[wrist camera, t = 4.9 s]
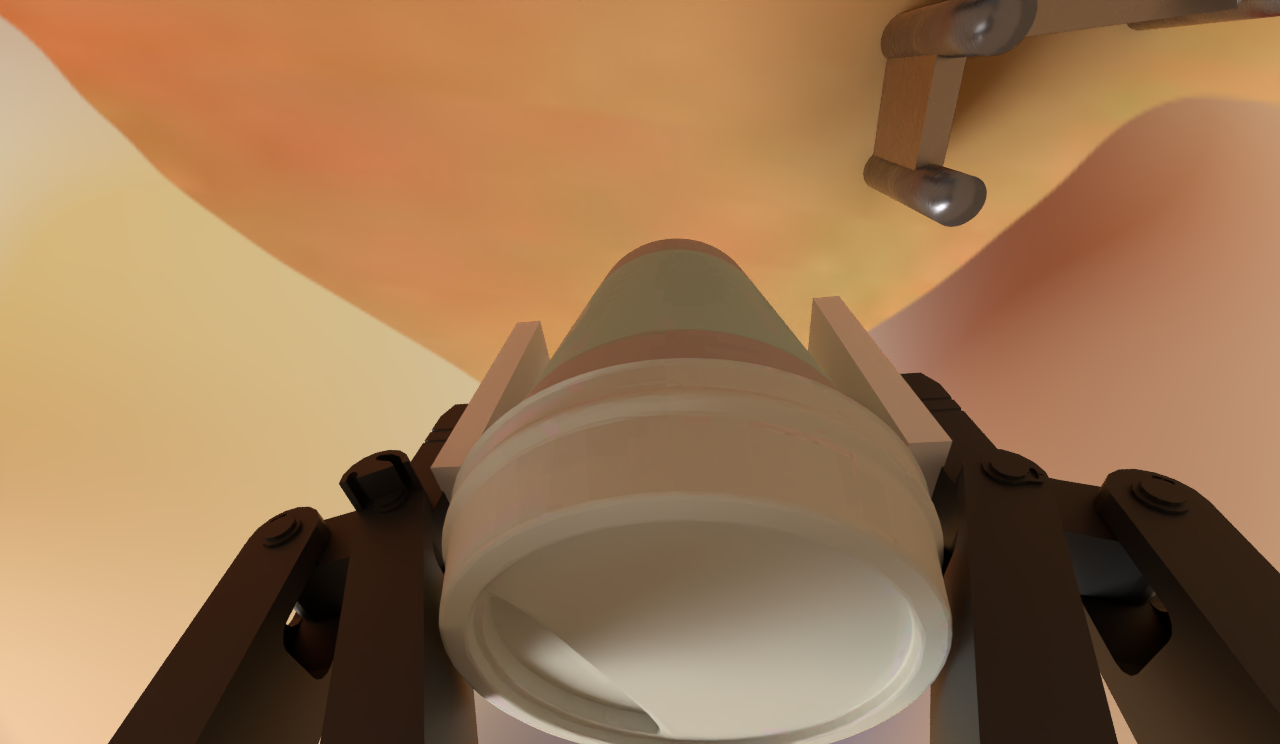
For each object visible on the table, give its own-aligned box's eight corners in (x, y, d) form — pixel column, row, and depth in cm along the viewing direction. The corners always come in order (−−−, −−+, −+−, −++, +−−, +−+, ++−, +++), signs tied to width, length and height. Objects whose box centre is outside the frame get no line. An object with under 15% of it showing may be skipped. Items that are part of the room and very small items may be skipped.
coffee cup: (552, 187, 15) (307, 429, 5) (820, 203, 15) (1163, 487, 5) (564, 401, 19) (453, 755, 9) (767, 415, 19) (878, 788, 9)
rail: (884, 15, 22) (981, -14, 15) (1186, -28, 21) (1437, -80, 14) (861, 190, 26) (928, 228, 20) (1110, 163, 25) (1275, 195, 18)
